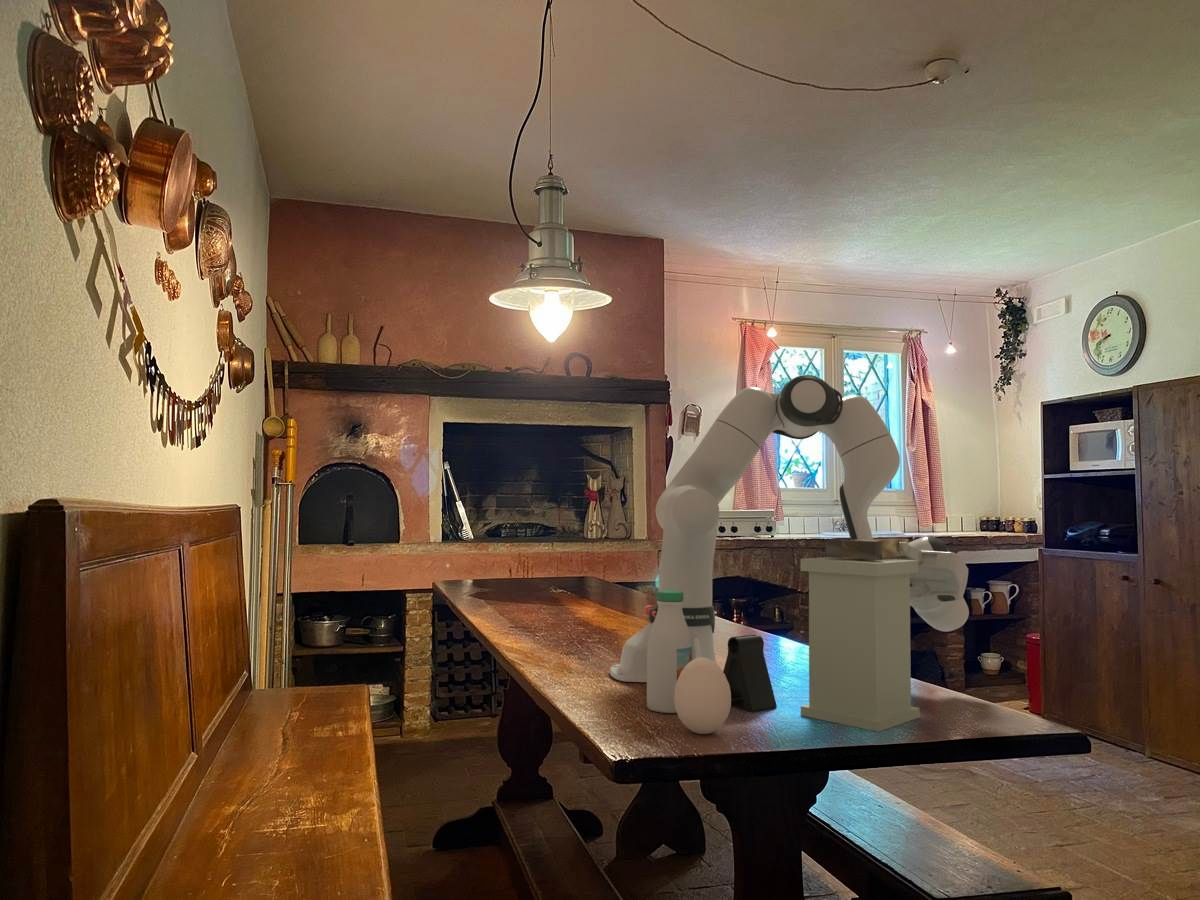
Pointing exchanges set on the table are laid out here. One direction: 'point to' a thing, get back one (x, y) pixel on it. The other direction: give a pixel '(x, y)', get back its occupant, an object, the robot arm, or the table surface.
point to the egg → (702, 696)
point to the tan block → (863, 548)
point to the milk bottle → (667, 651)
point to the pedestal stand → (860, 641)
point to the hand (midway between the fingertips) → (889, 544)
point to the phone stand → (748, 674)
